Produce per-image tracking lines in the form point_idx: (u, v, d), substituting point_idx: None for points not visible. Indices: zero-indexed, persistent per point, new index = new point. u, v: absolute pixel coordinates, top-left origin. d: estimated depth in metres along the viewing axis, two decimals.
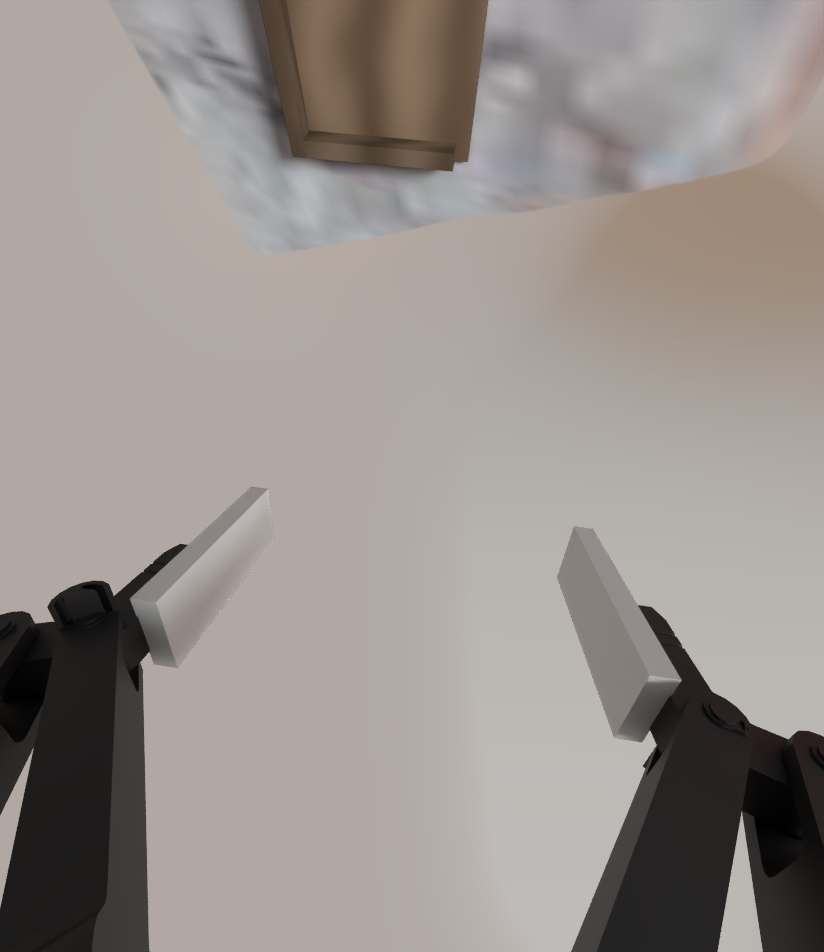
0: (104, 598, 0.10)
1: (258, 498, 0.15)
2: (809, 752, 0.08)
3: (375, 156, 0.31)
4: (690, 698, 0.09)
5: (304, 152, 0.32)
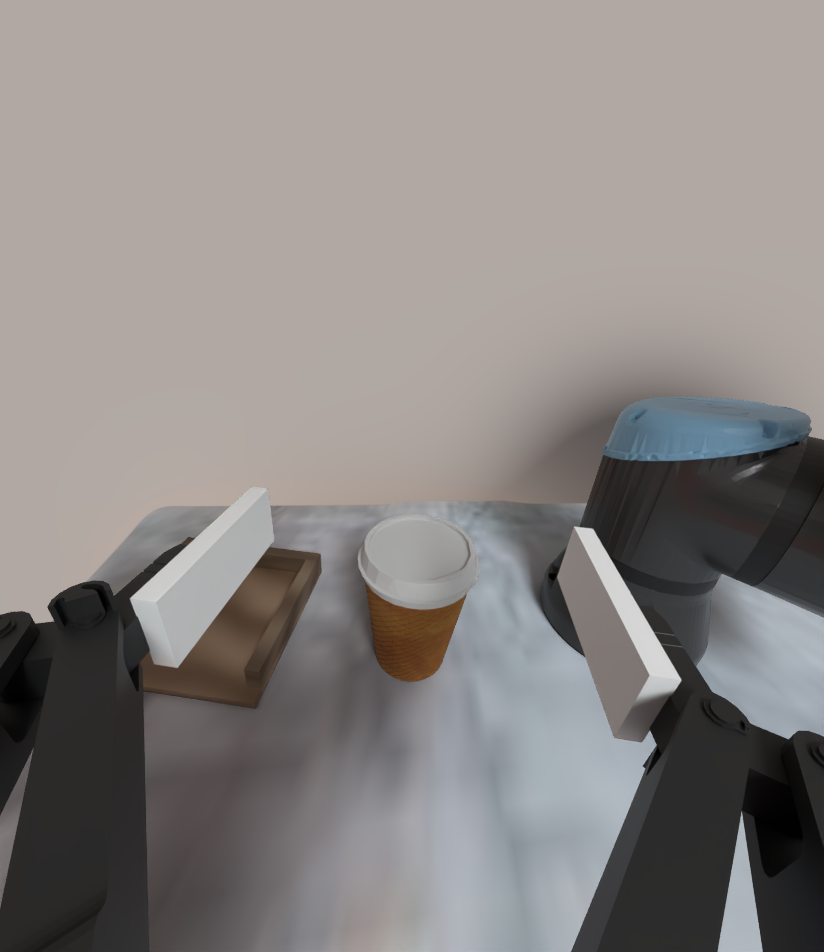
0: (104, 598, 0.10)
1: (258, 498, 0.15)
2: (809, 752, 0.08)
3: None
4: (690, 698, 0.09)
5: (185, 543, 0.40)
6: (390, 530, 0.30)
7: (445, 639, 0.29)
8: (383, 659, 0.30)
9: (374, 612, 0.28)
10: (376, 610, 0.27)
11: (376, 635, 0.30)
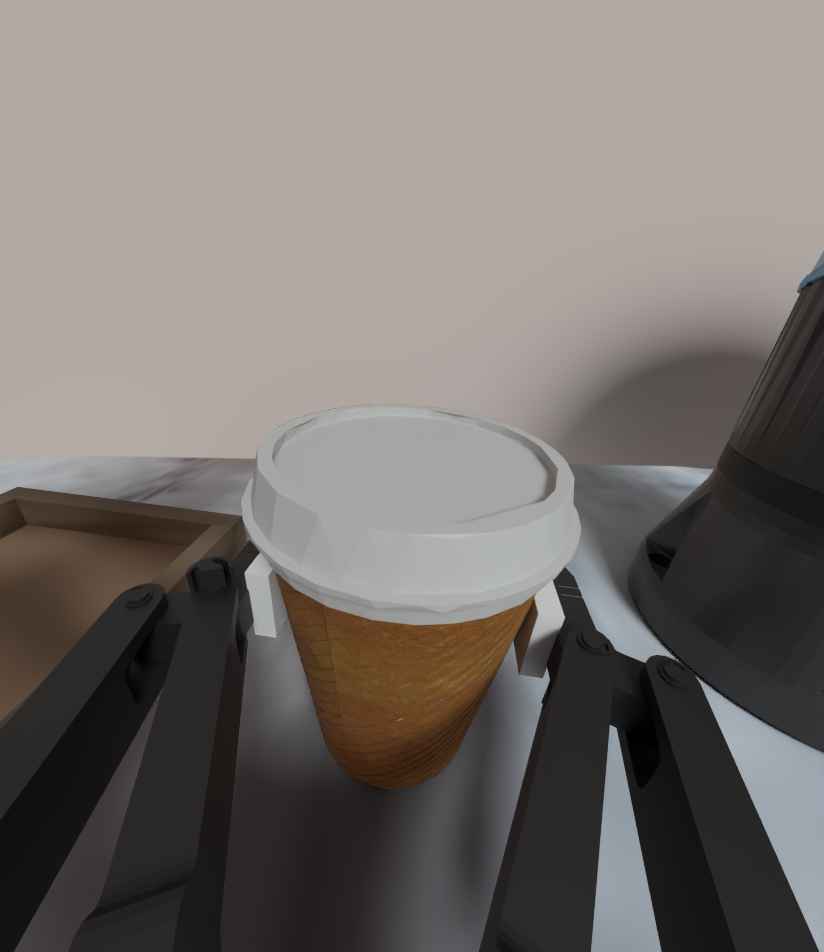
0: (227, 573, 0.11)
1: None
2: (658, 673, 0.09)
3: None
4: (568, 635, 0.10)
5: (4, 495, 0.23)
6: (345, 427, 0.12)
7: (479, 697, 0.11)
8: (328, 736, 0.13)
9: (293, 627, 0.10)
10: (294, 623, 0.10)
11: (308, 682, 0.12)
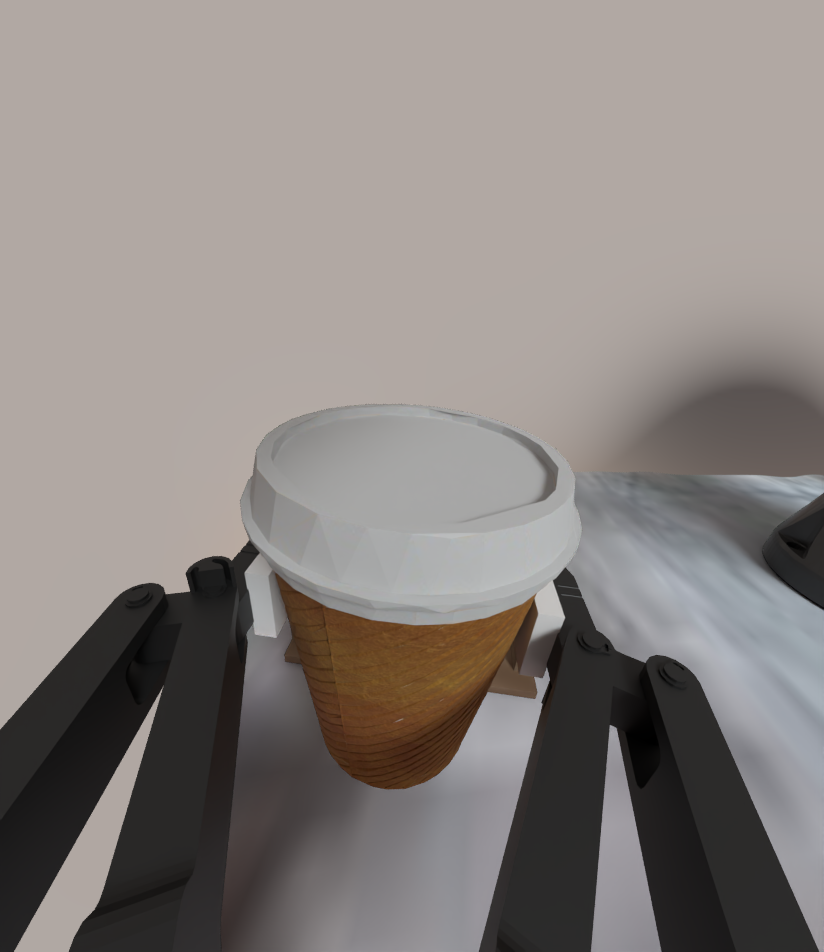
0: (227, 573, 0.11)
1: None
2: (658, 673, 0.09)
3: None
4: (568, 635, 0.10)
5: None
6: (345, 427, 0.12)
7: (479, 697, 0.11)
8: (328, 737, 0.13)
9: (292, 627, 0.10)
10: (293, 623, 0.10)
11: (308, 682, 0.12)
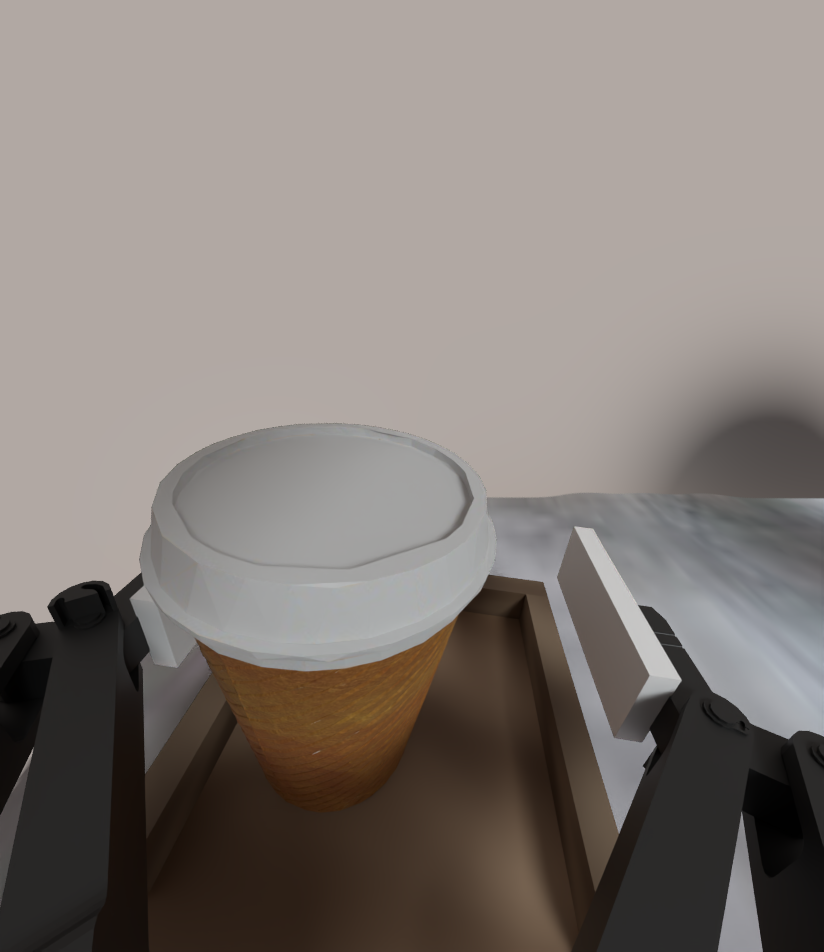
0: (104, 598, 0.10)
1: None
2: (809, 752, 0.08)
3: None
4: (690, 698, 0.09)
5: None
6: (272, 450, 0.12)
7: (405, 722, 0.11)
8: (259, 763, 0.13)
9: None
10: None
11: None
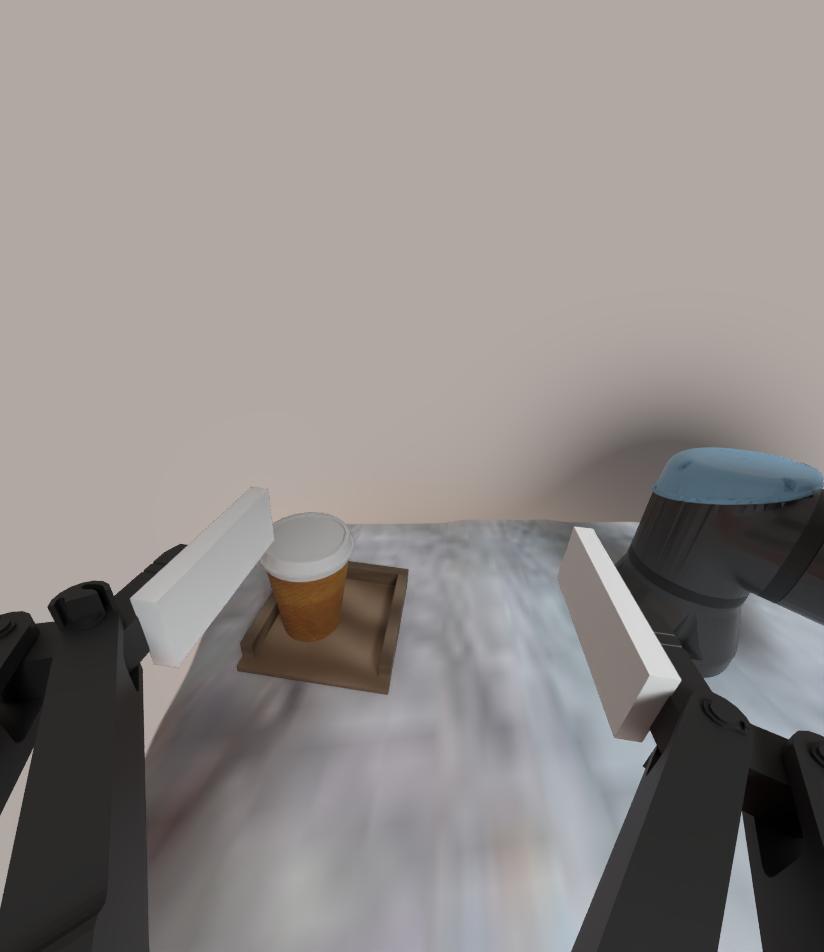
0: (104, 598, 0.10)
1: (258, 498, 0.15)
2: (809, 752, 0.08)
3: None
4: (690, 698, 0.09)
5: None
6: (288, 525, 0.39)
7: (330, 607, 0.38)
8: (285, 625, 0.39)
9: (272, 587, 0.37)
10: (272, 585, 0.36)
11: (278, 606, 0.38)
